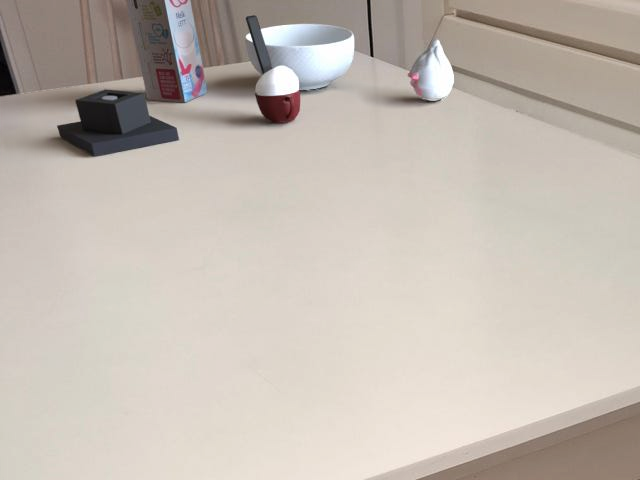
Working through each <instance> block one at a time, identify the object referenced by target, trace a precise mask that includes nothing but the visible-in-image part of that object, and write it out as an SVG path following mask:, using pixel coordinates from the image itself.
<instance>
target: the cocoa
mask: <svg viewBox="0 0 640 480" xmlns="http://www.w3.org/2000/svg"><path fill="white" fill-rule="evenodd" d="M245 22H246V24H247V28H248V32H249V33H250V35H251V38H252V41H253V44H254V48H255V51H256V54H257V57H258V61H259V64H260V67H261V71H262V74H263V75H261V76H260V77H259V78H258V80H257V82H256V84H255V88H254V90H255V93H254V96H255V100H256V104H257V107H258V108H259V111H260V113H261V115H262V116H263V118H264V119H265V120H267V121H268V122H270V123H274V124H275V123H277V124H280V123H281V124H282V123H289V122H291V121H294V120H295V119H296V118H297V117H298V116H299V113H300V110H301V91H299V82H298V77H297V76H296V75H295V74H294V72H293V71H292V70H291V69H289V68H287V67H286V66H277V67H275V68H272V65H271V62H270V58H269V55H268V52H267V48H266V45H265V42H264V38H263V35H262V32H261V29H262V28H261V26H260V23H259V19H258V17H257V15H255V14H254V15H247V16H246V17H245Z"/></svg>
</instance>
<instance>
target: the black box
mask: <svg viewBox="0 0 640 480" xmlns="http://www.w3.org/2000/svg"><path fill="white" fill-rule="evenodd" d="M104 96H116V97H117V99H116V100H113V101H112V100H102V97H104ZM74 102H75V106H76V109H77V113H78V117H79V120H80V121H81V124H82V128H83V130H85V131H94V132H104V133H114V134H125V133H127V132H129V131H132V130H134V129H137V128H139V127H141V126H144V125H146V124H148V123H151V121H150V116H151V115H150V112H149V109H148V103H147V98H146V95H145V93H144V92H139V91H138V92H137V91H128V90H116V89H106V88H105V89H102V90H100V91H99V90H98V91H97V92H94V93H91V94H88V95H86V96H83V97H80V98H77V99H75V100H74Z"/></svg>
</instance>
